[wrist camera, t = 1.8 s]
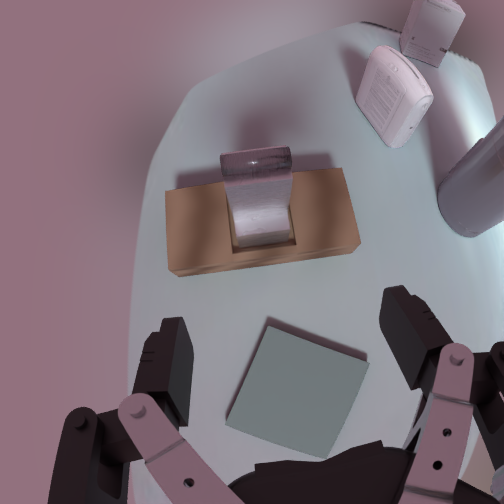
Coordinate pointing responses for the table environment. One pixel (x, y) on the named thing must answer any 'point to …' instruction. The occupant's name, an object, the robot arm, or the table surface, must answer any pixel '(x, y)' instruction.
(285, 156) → the lever cap
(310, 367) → the rubber mat
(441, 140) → the table surface
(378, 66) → the photo printer
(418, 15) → the skincare box
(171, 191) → the body
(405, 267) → the table surface
